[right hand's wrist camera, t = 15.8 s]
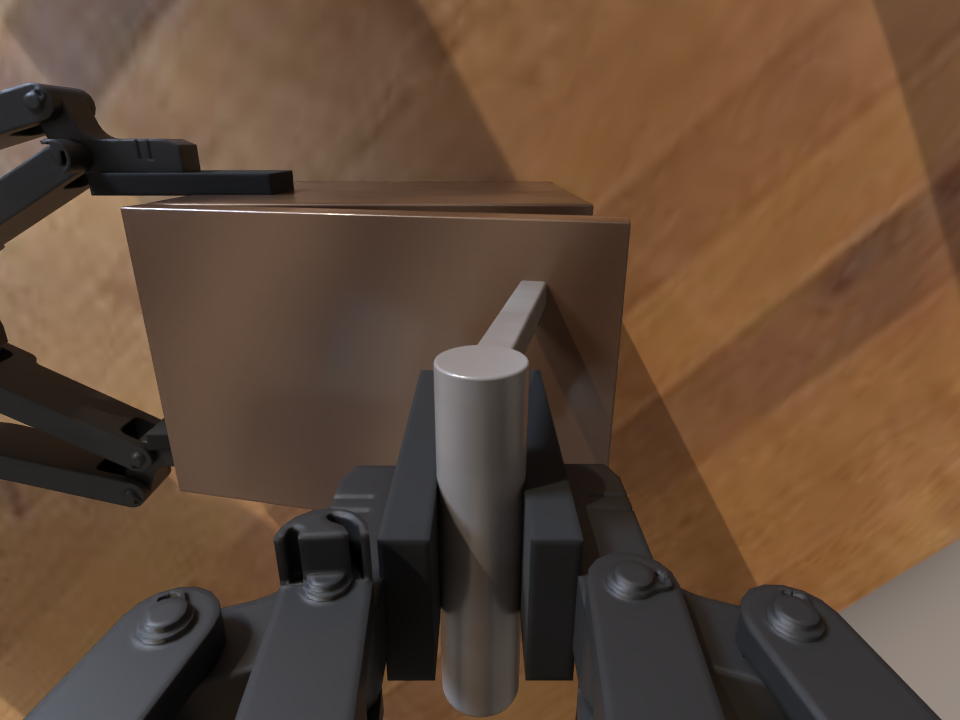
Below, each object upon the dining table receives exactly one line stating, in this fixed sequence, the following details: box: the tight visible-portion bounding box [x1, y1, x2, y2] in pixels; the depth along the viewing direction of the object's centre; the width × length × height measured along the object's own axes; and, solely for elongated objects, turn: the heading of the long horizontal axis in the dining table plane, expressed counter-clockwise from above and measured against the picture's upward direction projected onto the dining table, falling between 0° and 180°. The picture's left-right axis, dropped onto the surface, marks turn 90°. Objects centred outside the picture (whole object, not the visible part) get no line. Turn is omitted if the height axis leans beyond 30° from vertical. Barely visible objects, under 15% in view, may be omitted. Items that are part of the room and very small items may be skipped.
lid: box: [121, 204, 631, 717], centre depth 14 cm, size 15×10×8 cm, turn 89°
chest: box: [148, 182, 593, 216], centre depth 25 cm, size 14×10×11 cm
